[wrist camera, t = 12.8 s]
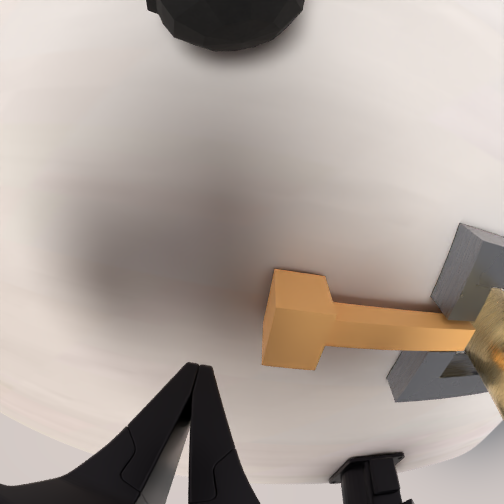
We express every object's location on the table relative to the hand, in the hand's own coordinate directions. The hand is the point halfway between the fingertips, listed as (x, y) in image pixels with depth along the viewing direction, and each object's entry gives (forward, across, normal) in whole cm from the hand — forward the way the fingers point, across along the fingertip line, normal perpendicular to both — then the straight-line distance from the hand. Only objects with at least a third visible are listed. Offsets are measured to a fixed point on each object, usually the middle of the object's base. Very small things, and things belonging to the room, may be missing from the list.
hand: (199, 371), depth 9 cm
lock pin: (+6, -8, 0) cm, 10 cm away
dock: (+6, -17, 0) cm, 18 cm away
